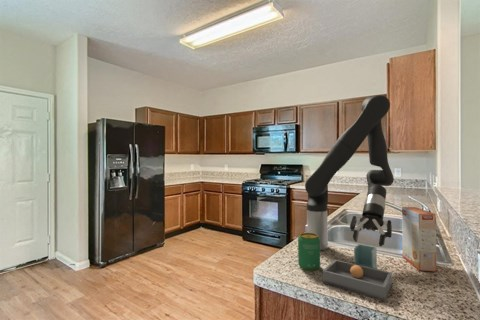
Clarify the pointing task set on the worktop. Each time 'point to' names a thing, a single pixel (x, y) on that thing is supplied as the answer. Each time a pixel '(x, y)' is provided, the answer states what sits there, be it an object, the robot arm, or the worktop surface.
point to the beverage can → (309, 251)
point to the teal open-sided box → (365, 256)
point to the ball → (356, 271)
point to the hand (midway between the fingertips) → (367, 242)
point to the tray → (359, 280)
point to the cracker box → (419, 238)
